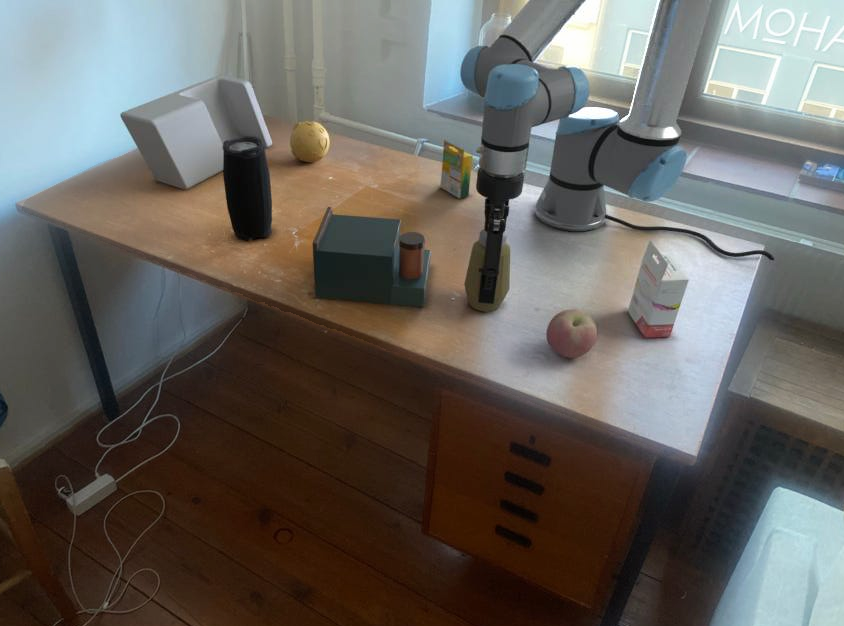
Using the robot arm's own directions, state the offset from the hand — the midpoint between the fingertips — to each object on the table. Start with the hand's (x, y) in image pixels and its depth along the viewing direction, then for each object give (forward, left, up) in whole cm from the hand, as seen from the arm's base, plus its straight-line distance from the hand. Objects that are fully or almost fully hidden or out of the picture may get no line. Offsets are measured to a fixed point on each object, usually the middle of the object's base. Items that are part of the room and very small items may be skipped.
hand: (486, 288), depth 128 cm
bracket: (+69, -50, -3) cm, 85 cm away
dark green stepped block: (+21, -4, -3) cm, 22 cm away
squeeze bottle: (0, 0, -3) cm, 3 cm away
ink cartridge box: (-29, +2, -3) cm, 29 cm away
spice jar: (+14, -2, +1) cm, 14 cm away
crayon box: (+8, -46, -3) cm, 47 cm away
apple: (-14, +13, -3) cm, 19 cm away
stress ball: (+45, -58, -3) cm, 73 cm away
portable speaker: (+49, -19, -3) cm, 53 cm away
